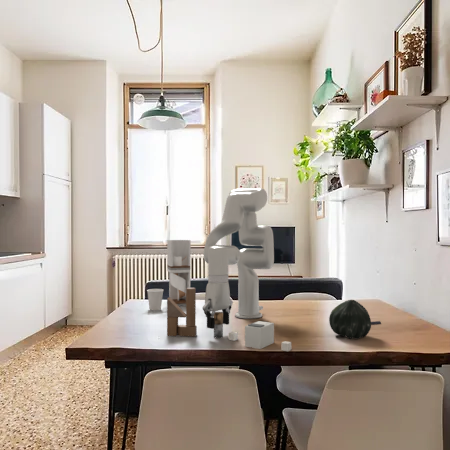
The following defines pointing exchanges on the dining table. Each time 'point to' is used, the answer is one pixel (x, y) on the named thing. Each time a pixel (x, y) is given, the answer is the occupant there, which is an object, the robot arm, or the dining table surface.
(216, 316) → the peg
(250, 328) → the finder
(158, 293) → the dixie cup
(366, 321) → the squash
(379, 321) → the bracket
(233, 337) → the rounded white cube
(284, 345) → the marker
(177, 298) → the display case
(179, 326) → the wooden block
